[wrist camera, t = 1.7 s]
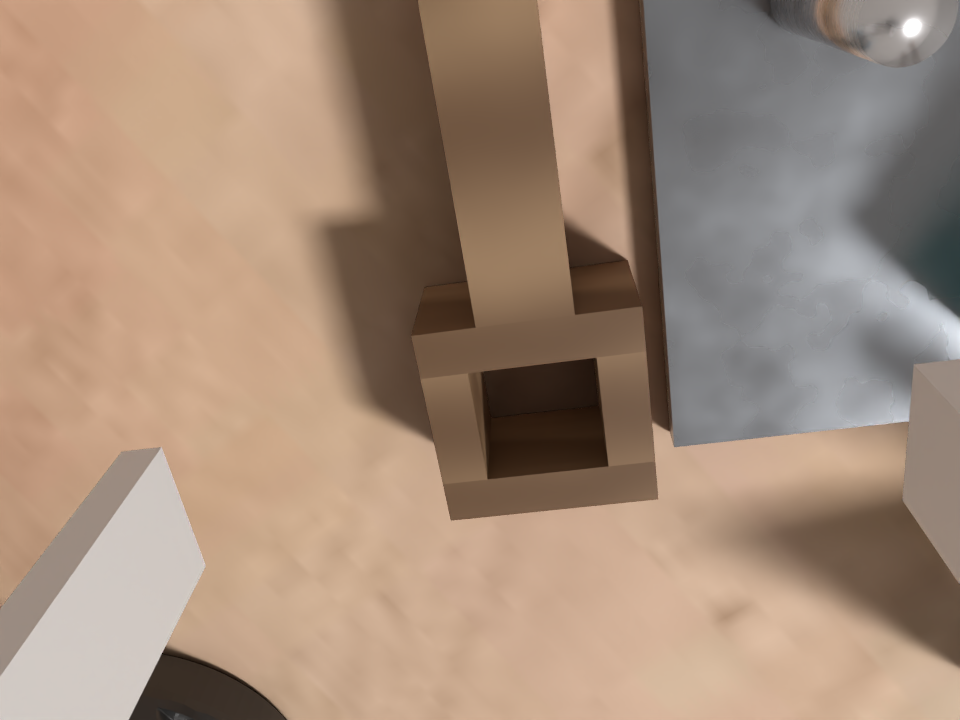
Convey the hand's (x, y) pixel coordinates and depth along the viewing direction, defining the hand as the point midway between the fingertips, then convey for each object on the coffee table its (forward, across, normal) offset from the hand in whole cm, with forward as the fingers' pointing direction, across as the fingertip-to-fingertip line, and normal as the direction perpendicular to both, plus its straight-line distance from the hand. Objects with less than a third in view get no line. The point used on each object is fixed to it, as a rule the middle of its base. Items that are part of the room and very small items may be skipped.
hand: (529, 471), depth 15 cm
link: (+15, 0, 0) cm, 15 cm away
